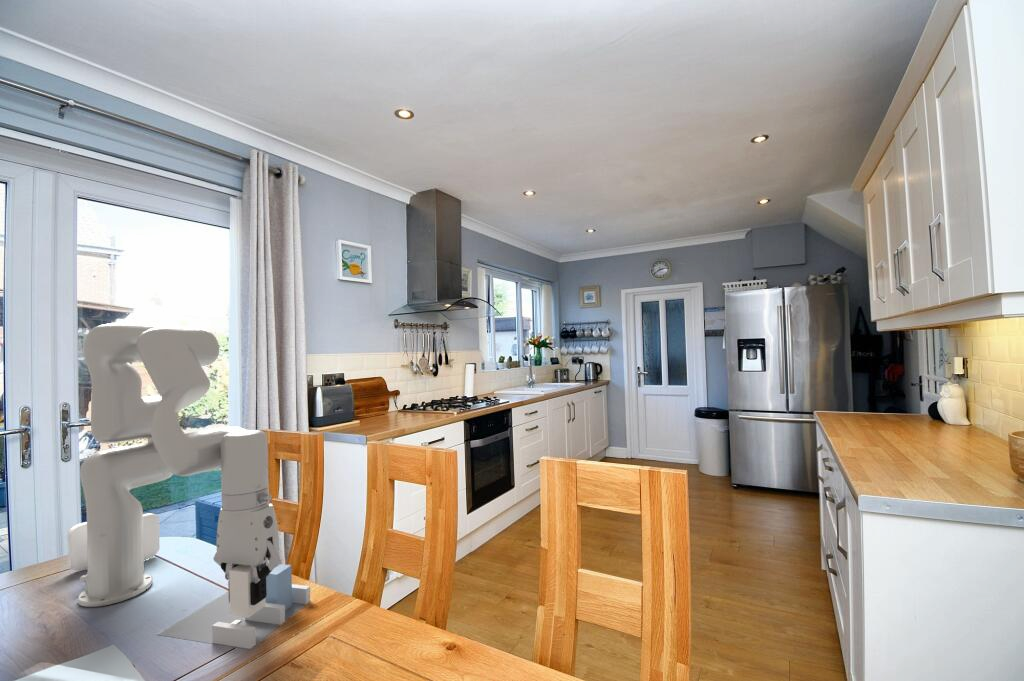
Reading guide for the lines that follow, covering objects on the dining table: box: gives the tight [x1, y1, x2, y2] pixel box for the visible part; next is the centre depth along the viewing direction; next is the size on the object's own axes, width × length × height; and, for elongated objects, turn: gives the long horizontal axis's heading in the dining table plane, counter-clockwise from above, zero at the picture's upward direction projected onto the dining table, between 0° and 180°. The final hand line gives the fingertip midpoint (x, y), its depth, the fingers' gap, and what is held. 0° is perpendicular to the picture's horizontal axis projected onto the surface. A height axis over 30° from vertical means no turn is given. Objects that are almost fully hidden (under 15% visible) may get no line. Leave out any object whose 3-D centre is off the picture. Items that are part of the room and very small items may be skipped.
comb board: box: [157, 583, 312, 651], centre depth 91 cm, size 20×16×4 cm
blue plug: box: [265, 563, 293, 611], centre depth 94 cm, size 4×4×8 cm
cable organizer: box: [67, 512, 160, 571], centre depth 119 cm, size 15×11×12 cm
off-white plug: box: [228, 565, 266, 618], centre depth 87 cm, size 4×4×8 cm
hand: (247, 598), depth 87 cm, fingers closed on off-white plug, 4 cm apart
